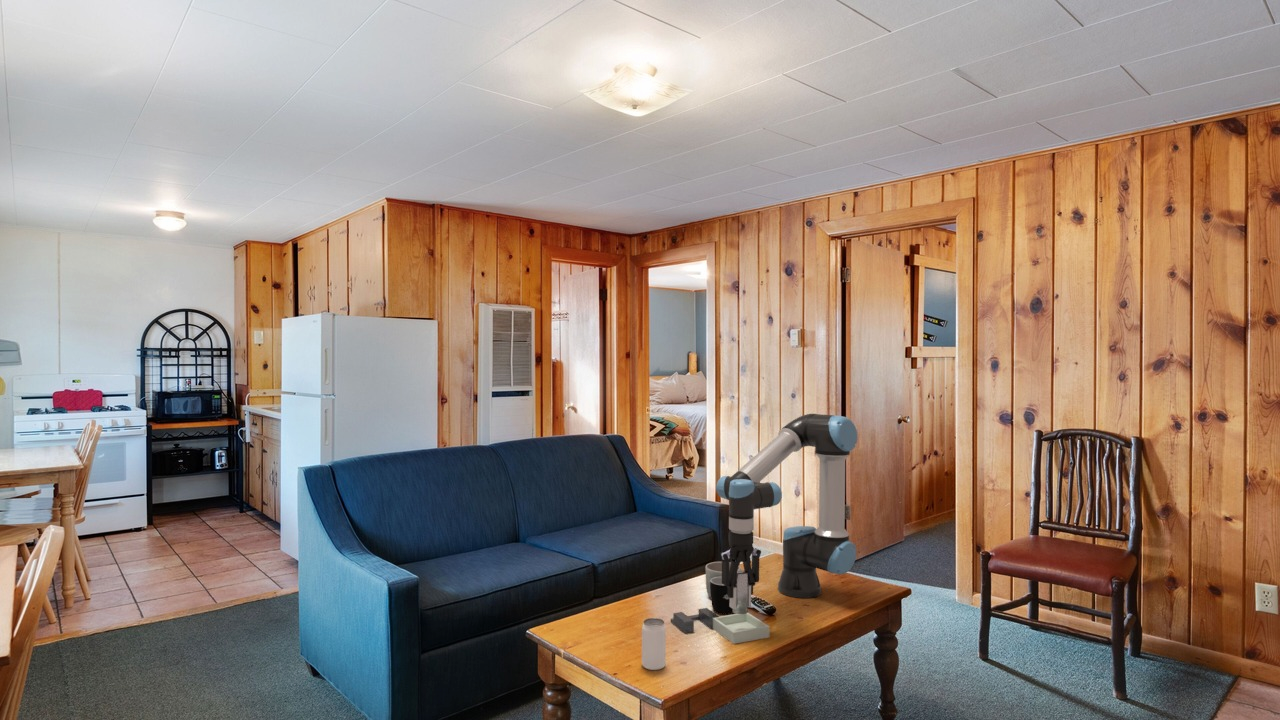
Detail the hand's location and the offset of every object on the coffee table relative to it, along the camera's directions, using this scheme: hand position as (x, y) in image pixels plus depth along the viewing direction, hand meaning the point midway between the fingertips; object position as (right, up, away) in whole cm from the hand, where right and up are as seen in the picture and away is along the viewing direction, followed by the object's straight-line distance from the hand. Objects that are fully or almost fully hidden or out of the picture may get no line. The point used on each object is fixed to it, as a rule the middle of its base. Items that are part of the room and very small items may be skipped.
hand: (740, 606), depth 210 cm
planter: (-2, -8, +31) cm, 32 cm away
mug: (-2, -8, +19) cm, 21 cm away
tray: (0, -8, 0) cm, 8 cm away
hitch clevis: (-13, -8, +5) cm, 16 cm away
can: (-27, -8, -23) cm, 36 cm away
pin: (0, -1, 0) cm, 1 cm away
